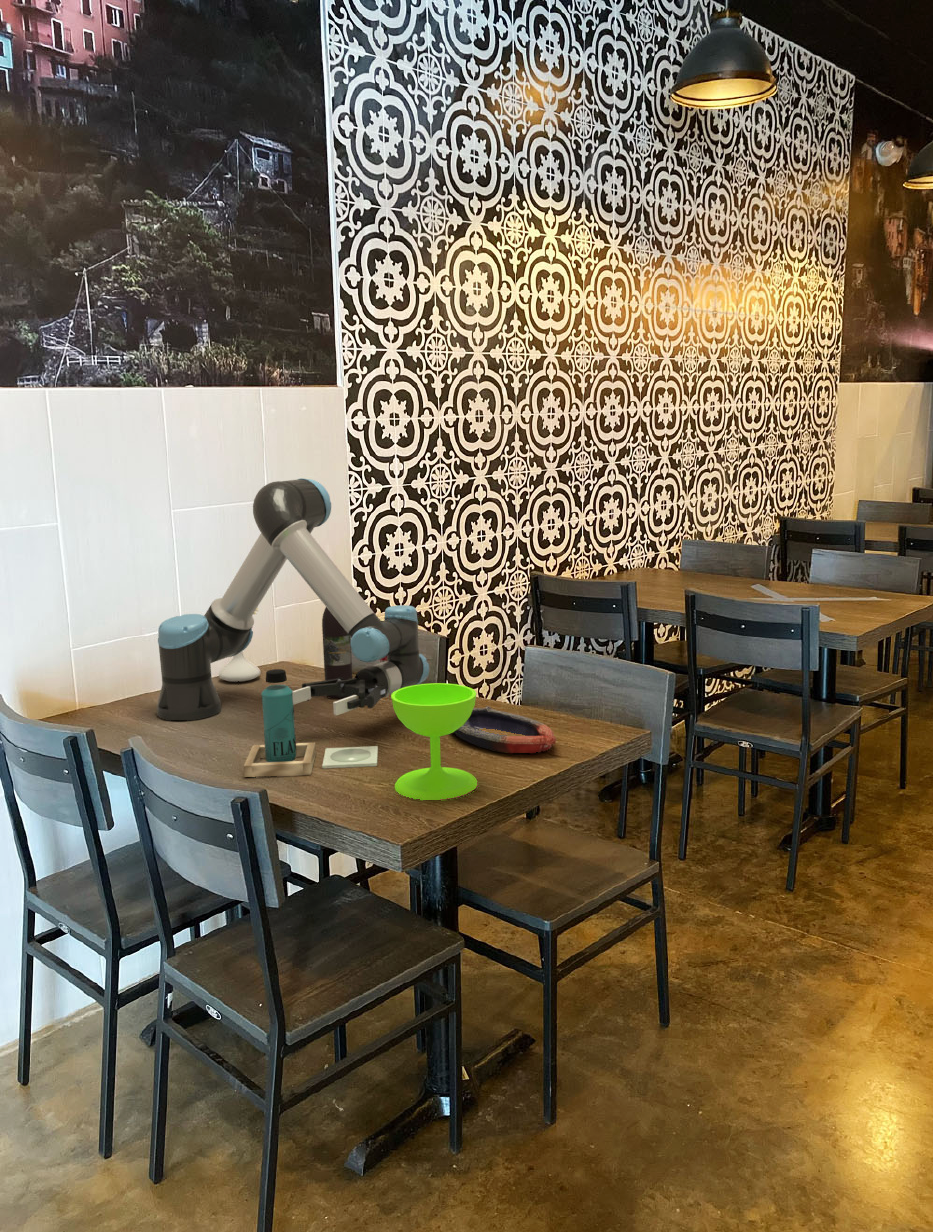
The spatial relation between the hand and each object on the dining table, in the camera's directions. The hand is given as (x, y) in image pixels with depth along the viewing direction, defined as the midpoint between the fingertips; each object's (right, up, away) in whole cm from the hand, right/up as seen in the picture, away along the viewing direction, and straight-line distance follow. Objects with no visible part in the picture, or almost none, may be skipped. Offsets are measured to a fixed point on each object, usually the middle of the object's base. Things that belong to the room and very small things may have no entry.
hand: (310, 704), depth 205 cm
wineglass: (+27, -14, -18) cm, 35 cm away
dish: (+40, -9, +8) cm, 42 cm away
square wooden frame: (-5, -12, -5) cm, 14 cm away
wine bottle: (0, -2, +47) cm, 47 cm away
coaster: (+9, -11, -2) cm, 14 cm away
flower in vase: (-30, +1, +67) cm, 73 cm away
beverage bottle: (-5, -12, -5) cm, 14 cm away
